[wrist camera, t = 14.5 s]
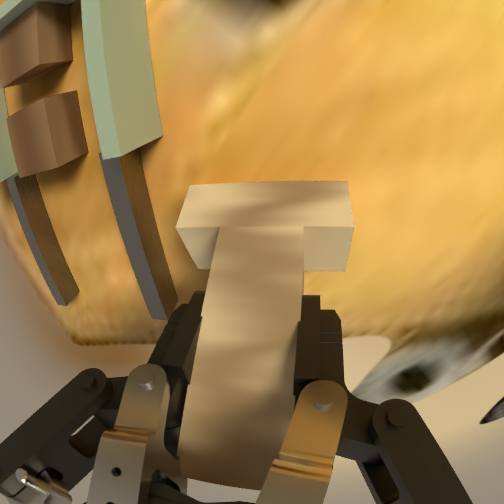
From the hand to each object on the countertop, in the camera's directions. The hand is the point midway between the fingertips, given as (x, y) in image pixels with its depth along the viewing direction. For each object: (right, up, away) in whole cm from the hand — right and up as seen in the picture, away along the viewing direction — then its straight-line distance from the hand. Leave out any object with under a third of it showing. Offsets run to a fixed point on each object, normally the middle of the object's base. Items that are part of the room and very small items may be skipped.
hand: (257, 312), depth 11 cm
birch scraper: (+1, +4, +3) cm, 5 cm away
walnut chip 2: (-12, +10, +4) cm, 16 cm away
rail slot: (-11, +4, +7) cm, 14 cm away
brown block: (-13, +15, +1) cm, 20 cm away
